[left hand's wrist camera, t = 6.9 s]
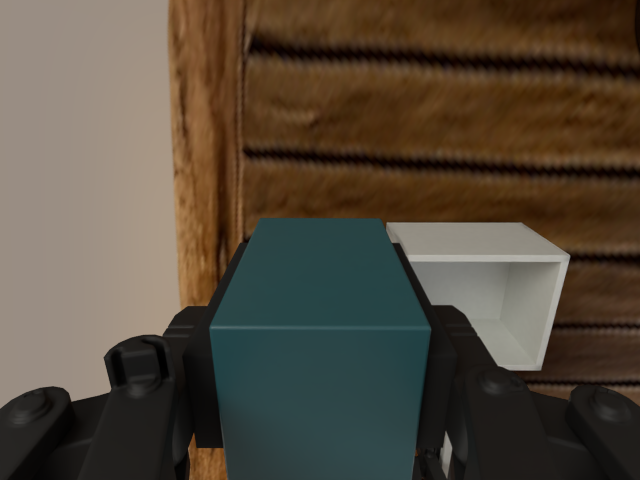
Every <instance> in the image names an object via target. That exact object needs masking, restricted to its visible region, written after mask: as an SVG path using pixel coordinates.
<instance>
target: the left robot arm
mask: <svg viewBox="0 0 640 480" xmlns="http://www.w3.org/2000/svg"><path fill="white" fill-rule="evenodd" d="M636 33H637V40H638V44H639V47H640V0H638V1H637V8H636ZM392 244H393V246H394V249H395V251H396V253H397V255H398V257H399V259H400V262H401V264H402V266H403V268H404V270H405V272H406V275H407V277H408V279H409V281H410V283H411V285H412V288H413V290H414V292H415V294H416V296H417V298H418V301H419V303H420V305H421V307H422V309H423V311H424V314H425V316H426V318H427V320H428V322H429V324H430V327H431V335H430V343H429V350H428V358H427V366H426V373H425V381H424V389H423V397H422V404H421V412H420V420H419V427H418V435H417V443H416V448H443V445H444V439H445V433H446V432H447V435H448V438H449V440H450V443H451V446H452V452H451V458H450V464H449V470H448V476H447V480H640V407H639V406H638V405H637V404H635V403H634V402H633V401H632V400H630V399H629V398H627V397H625V396H623V395H621V394H620V393H618V392H616V391H613V390H610V389H607V388H604V387H601V386H594V385H583V386H577V387H576V388H575V389H574V390H572V391H571V394H570V398H569V400H565V399H561V398H556V397H552V396H548V395H543V394H539V393H536V392H533V391H530V390H529V388H528V387H527V385H526V384H525V382H524V380H523V379H521V378H520V377H519V376H518V375H516V374H515V373H514V372H512V371H510V370H508V369H506V368H504V367H501V366H498V365H497V364H496V362H495V360H494V359H493V357H492V356H491V354H490V353H489V351H488V350H487V348H486V346H485V345H484V343H483V342H482V340H481V339H480V337H479V336H477V332H476V331H475V329H474V328H473V327H472V325H471V323H470V321H469V320H468V318H467V317H466V315H465V314H464V313H462V312H461V311H460V310H458V309H457V308H456V307H454V306H453V305H431V303H430V301H429V299H428V297H427V295H426V293H425V291H424V289H423V287H422V285H421V283H420V281H419V280H418V278H417V276H416V274H415V272H414V270H413V268H412V266H411V264H410V262H409V260H408V258H407V256H406V254H405V252H404V250H403V248H402V247H401V245H400V243H392ZM247 245H248V243H240V244H239V246H238V248H237V250H236V252H235V254H234V256H233V258H232V260H231V262H230V264H229V265H228V267H227V269H226V271H225V273H224V275H223V277H222V279H221V281H220V283H219V285H218V287H217V289H216V291H215V293H214V295H213V296H212V298H211V300H210V302H209V304H208V306H187V307H186V308H185V309H183V310H182V311H181V312H179V313H178V314H176V315H175V316H174V318H173V320H172V321H171V323H170V324H169V326H168V328H167V329H166V331H165V332H164V334H163V337H162V336H158V335H141V336H136V337H132V338H129V339H127V340H125V341H122V342H120V343H118V344H117V345H115V346H114V347H113V348H111V349H110V350H109V351H108V352H107V354H106V355H105V356H104V361H105V365H106V369H107V373H108V377H109V381H110V385H111V391H110V392H109V393H106V394H103V395H99V396H95V397H90V398H86V399H82V400H77V401H73V402H71V399H70V395H69V393H68V392H67V391H66V390H65V389H63V388H60V387H54V386H52V387H43V388H38V389H35V390H32V391H29V392H26V393H24V394H22V395H20V396H18V397H16V398H14V399H12V400H11V401H10V402H8V403H7V404H6V405H4V406H3V407H2V408H1V409H0V480H189V473H190V459H189V452H188V447H189V444H190V442H191V439H192V436H193V433H194V434H195V441H196V447H197V448H224V447H223V439H222V430H221V422H220V414H219V405H218V397H217V389H216V381H215V372H214V364H213V356H212V347H211V339H210V331H209V327H210V325H211V322H212V320H213V318H214V316H215V314H216V312H217V310H218V307H219V305H220V303H221V301H222V299H223V297H224V294H225V292H226V290H227V288H228V286H229V284H230V282H231V279H232V277H233V275H234V273H235V271H236V269H237V267H238V264H239V262H240V260H241V258H242V256H243V254H244V252H245V249H246V247H247Z"/></svg>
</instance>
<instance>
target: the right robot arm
mask: <svg viewBox="0 0 640 480" xmlns="http://www.w3.org/2000/svg"><path fill="white" fill-rule="evenodd" d="M416 450H417V453H418V456H417V457H415V458H414V466H413V474H412V480H421V478H422V477H423V478H424V480H447V478H446V476H445V473H444V471H443V469H442V467H441V465H440V462H439V458H440V452H441V448H416Z"/></svg>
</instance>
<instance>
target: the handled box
mask: <svg viewBox="0 0 640 480" xmlns="http://www.w3.org/2000/svg"><path fill="white" fill-rule="evenodd" d="M386 231H387V233H388V236H389V238H390V240H391V242H392V243H400V245H401V247H402V248H403V250H404V252H405V254H406V256H407V258H408V260H409V262H410V264H411V266H412V268H413V270H414V272H415V274H416V276H417V278H418V280H419V281H420V283H421V285H422V287H423V289H424V291H425V293H426V295H427V297H428V299H429V301H430V303H431V305H453V306H454V307H456V308H457V309H458V310H460V311H461V312H462V313H464V314H465V315H466V317H467V318H468V320H469V321H470V323H471V325H472V327H473V328H474V329H475V331H476V332H477V336H479V337H480V339H481V340H482V342H483V343H484V345H485V346H486V348H487V350H488V351H489V353H490V354H491V356H492V357H493V359H494V360H495V362H496V364H497V365H498V366H501V367H504V368H506V369H508V370H541V367H542V363H543V360H544V356H545V352H546V348H547V344H548V340H549V336H550V332H551V329H552V325H553V321H554V317H555V313H556V309H557V305H558V301H559V298H560V294H561V290H562V286H563V282H564V278H565V274H566V271H567V267H568V263H569V259H570V255H569V254H567V253H566V252H564V251H563V250H561V249H560V248H558V247H557V246H555V245H554V244H552V243H551V242H549V241H548V240H546V239H545V238H543V237H542V236H540V235H539V234H537V233H536V232H534V231H533V230H531V229H530V228H528V227H527V226H525V225H524V224H522V223H386ZM451 452H452V446H451V443H450V440H449V438H448V435H447V432H446V433H445V439H444V445H443V448H441V452H440V458H439V462H440V465H441V467H442V469H443V471H444V473H445V476H446V478H447V476H448V470H449V464H450V458H451Z"/></svg>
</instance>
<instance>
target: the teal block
mask: <svg viewBox="0 0 640 480" xmlns="http://www.w3.org/2000/svg"><path fill="white" fill-rule="evenodd" d="M209 331H210V339H211V347H212V356H213V364H214V372H215V381H216V389H217V397H218V405H219V414H220V422H221V430H222V439H223V447H224V455H225V464H226V472H227V479H228V480H412V474H413V466H414V458H415V450H416V443H417V435H418V427H419V420H420V412H421V404H422V397H423V389H424V381H425V373H426V366H427V358H428V350H429V343H430V335H431V327H430V324H429V322H428V320H427V318H426V316H425V314H424V311H423V309H422V307H421V305H420V303H419V301H418V298H417V296H416V294H415V292H414V290H413V288H412V285H411V283H410V281H409V279H408V277H407V275H406V272H405V270H404V268H403V266H402V264H401V262H400V259H399V257H398V255H397V253H396V251H395V249H394V246H393V244H392V242H391V240H390V238H389V236H388V233H387V231H386V229H385V227H384V225H383V223H382V220H381V219H363V218H260V219H259V221H258V224H257V226H256V228H255V230H254V232H253V234H252V236H251V239H250V241H249V243H248V245H247V247H246V249H245V252H244V254H243V256H242V258H241V260H240V262H239V264H238V267H237V269H236V271H235V273H234V275H233V277H232V279H231V282H230V284H229V286H228V288H227V290H226V292H225V294H224V297H223V299H222V301H221V303H220V305H219V307H218V310H217V312H216V314H215V316H214V318H213V320H212V322H211V325H210V327H209Z"/></svg>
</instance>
